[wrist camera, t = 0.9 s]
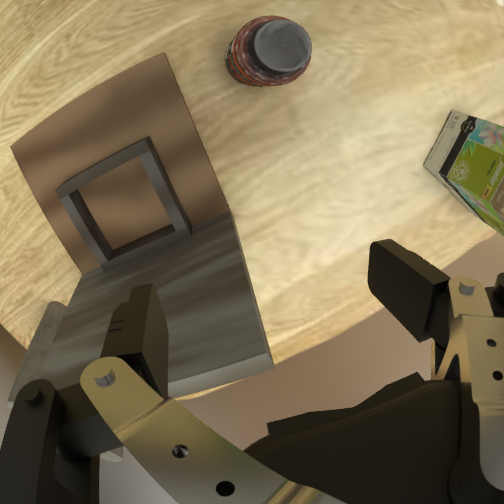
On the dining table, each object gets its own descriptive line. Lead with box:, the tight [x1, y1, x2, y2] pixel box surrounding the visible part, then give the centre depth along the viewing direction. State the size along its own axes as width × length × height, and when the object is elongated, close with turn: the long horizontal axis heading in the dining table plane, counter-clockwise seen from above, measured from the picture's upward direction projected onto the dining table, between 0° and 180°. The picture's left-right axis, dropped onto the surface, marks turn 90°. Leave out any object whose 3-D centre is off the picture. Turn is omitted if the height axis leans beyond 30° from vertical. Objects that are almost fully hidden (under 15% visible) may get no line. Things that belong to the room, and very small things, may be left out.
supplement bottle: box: [225, 16, 312, 87], centre depth 21 cm, size 6×6×11 cm
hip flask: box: [7, 301, 123, 462], centre depth 31 cm, size 16×4×20 cm, turn 37°
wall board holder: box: [10, 52, 275, 398], centre depth 21 cm, size 20×20×21 cm
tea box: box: [424, 111, 504, 236], centre depth 29 cm, size 15×10×15 cm, turn 62°
